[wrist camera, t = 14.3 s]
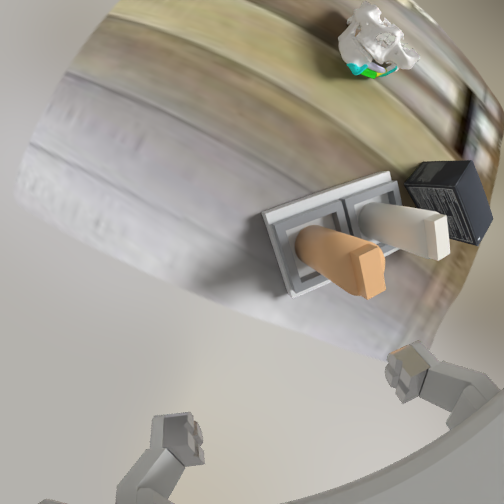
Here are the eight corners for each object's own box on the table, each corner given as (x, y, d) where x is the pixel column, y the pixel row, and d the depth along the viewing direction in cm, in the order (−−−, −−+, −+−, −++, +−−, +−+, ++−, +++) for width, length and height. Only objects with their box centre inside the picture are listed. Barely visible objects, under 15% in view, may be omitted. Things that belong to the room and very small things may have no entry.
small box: (448, 210, 40) (495, 219, 30) (429, 235, 40) (477, 249, 30) (423, 159, 37) (474, 158, 27) (402, 184, 37) (454, 187, 27)
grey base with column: (287, 293, 37) (338, 351, 23) (261, 212, 34) (307, 231, 20) (395, 244, 38) (469, 270, 25) (380, 171, 35) (460, 171, 22)
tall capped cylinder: (301, 270, 34) (354, 311, 22) (289, 233, 33) (342, 258, 21) (335, 255, 34) (398, 286, 23) (325, 219, 33) (390, 236, 21)
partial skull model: (311, 33, 26) (366, -8, 20) (319, 34, 32) (363, 1, 26) (375, 102, 30) (430, 66, 24) (371, 90, 36) (416, 61, 30)
